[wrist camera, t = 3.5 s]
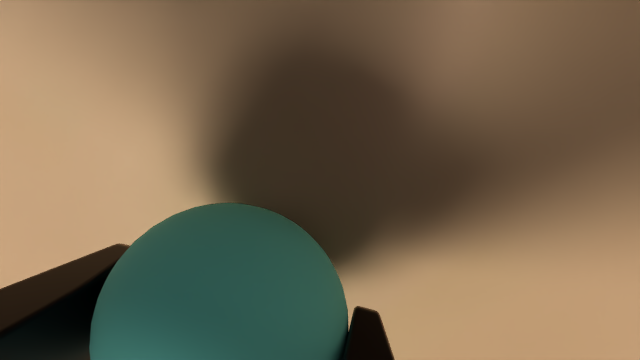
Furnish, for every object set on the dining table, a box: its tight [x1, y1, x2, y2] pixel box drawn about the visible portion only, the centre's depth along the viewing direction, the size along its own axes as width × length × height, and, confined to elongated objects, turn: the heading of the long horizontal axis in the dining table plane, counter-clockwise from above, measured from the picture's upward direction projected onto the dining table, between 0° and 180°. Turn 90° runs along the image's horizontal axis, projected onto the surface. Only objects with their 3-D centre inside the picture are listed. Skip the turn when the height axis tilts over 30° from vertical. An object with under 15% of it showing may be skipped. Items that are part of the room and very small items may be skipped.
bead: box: [89, 203, 349, 360], centre depth 7 cm, size 4×4×4 cm
